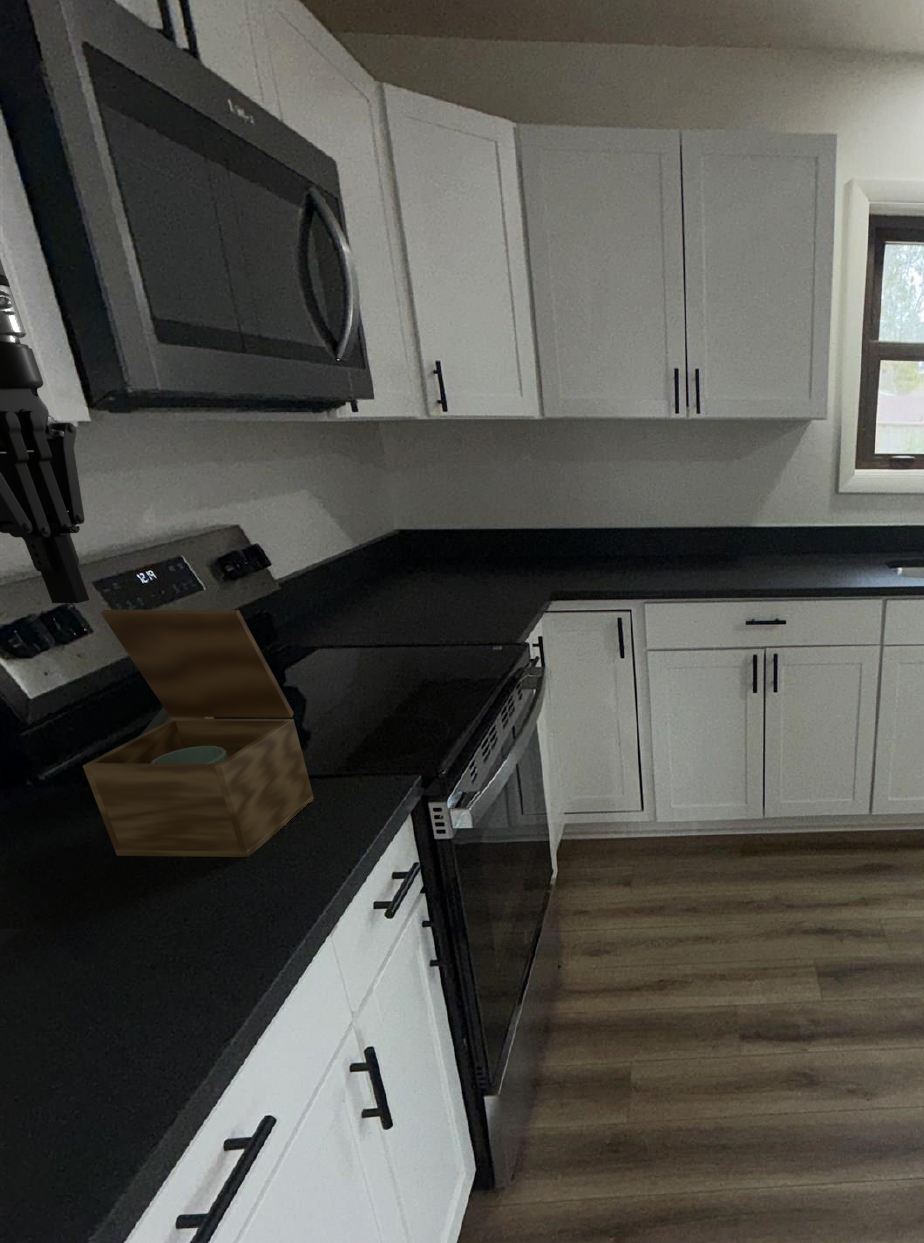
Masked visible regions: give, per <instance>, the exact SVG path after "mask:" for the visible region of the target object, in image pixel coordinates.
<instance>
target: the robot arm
mask: <svg viewBox="0 0 924 1243" xmlns="http://www.w3.org/2000/svg"><path fill="white" fill-rule="evenodd" d="M10 287H11V285H10V282H9V279H8V278H7V275H6V272H5V268H4V264H3V263H2V259H1V258H0V533H1V534H9V535H10V536H11V537H13V538H22V540H23V541H24V544H25V546H26V549H27V551H28V554H29V557H30V559H31V562H32V564H33V567H34V568H35V570H36V571H37V572H40V574H41V577H42V579H43V582H44V585H45V587H46V590H47V592H48V593H47V594H48V595H49V598H50V601H51V603H52V604H81V603H84V602H87V601H90V596H89V594H88V591H87V589H86V584H85V582H84V580H83V577H82V574H81V571H80V569H79V566H80V558H79V555H78V552H77V550H76V547H75V544H74V541H73V538H72V536H71V534H78V533H79V532H80V529H81V528H80V526H79V525H82V524H84V523H85V512H84V506H83V500H82V493H81V486H80V480H79V473H78V466H77V459H76V453H75V442H76V437H77V428H76V426H75V425H74V424H73V423H72V422H63V421H62V422H61V421H59V420H57V419H56V418H55V417H53V416H51V415H50V412H49V409H48V406H46V404H45V403H44V401H43V400H42V398H41V397H40V394H39V392H38V389H41V388H43V386H44V380H43V376H42V374H41V371H40V368H39V366H38V362H37V360H36V355H35V353H34V350H33V348H31V347H30V346H29V345H28V344H25V343H21V340H20V339H22V338H25V337H26V335H27V333H26V329H25V327H24V324H23V320H22V317H21V314H20V312H19V310H18V306H17V304H16V301H15V298H14V295H13V292H12V289H11V288H10Z"/></svg>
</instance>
